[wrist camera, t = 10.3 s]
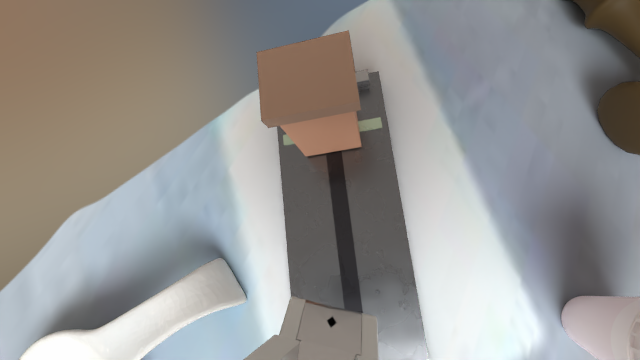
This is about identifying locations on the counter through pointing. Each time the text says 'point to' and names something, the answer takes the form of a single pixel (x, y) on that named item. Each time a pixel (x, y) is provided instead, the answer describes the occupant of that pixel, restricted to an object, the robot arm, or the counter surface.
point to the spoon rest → (146, 319)
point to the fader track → (354, 229)
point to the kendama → (626, 98)
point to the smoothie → (604, 325)
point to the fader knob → (312, 93)
